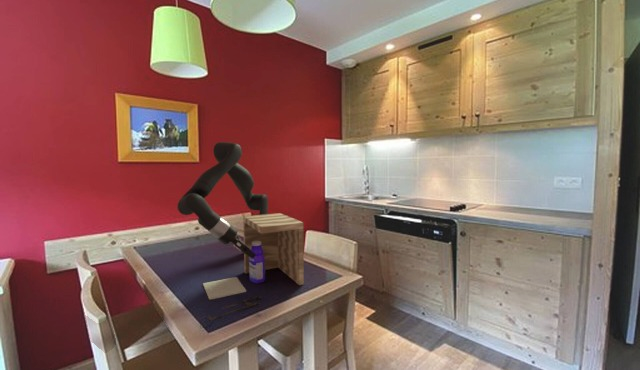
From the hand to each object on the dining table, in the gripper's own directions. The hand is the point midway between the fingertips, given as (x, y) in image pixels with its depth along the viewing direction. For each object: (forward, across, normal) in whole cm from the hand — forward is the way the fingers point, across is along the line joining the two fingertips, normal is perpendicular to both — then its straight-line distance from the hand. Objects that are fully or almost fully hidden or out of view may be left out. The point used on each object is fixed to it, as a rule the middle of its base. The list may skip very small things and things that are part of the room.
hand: (251, 253), depth 125 cm
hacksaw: (0, -21, +18) cm, 28 cm away
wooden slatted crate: (+15, 0, +2) cm, 16 cm away
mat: (+1, 0, +17) cm, 17 cm away
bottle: (+11, 0, +7) cm, 13 cm away
